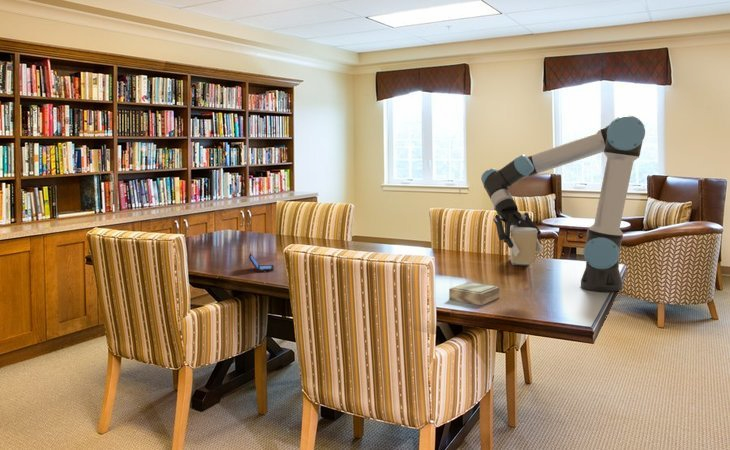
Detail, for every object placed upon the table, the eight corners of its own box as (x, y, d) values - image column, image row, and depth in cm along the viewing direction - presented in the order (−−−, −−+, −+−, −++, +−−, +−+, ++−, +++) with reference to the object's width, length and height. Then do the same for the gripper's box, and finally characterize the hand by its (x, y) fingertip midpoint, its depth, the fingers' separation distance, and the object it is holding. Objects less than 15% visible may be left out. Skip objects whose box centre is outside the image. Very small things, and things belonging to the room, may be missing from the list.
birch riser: (499, 297, 215) (499, 286, 215) (481, 305, 206) (481, 293, 205) (468, 292, 224) (468, 281, 223) (449, 299, 214) (449, 287, 214)
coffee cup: (540, 261, 213) (540, 227, 211) (532, 265, 205) (533, 231, 204) (515, 259, 218) (515, 226, 216) (506, 263, 210) (506, 229, 209)
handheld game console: (273, 272, 269) (272, 256, 268) (249, 273, 267) (248, 257, 266) (273, 267, 281) (273, 251, 280) (250, 268, 279) (250, 252, 278)
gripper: (524, 209, 227) (550, 256, 214) (475, 212, 220) (498, 261, 207) (533, 196, 222) (559, 244, 209) (482, 199, 215) (506, 249, 202)
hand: (529, 253), depth 208 cm, fingers closed on coffee cup, 9 cm apart
